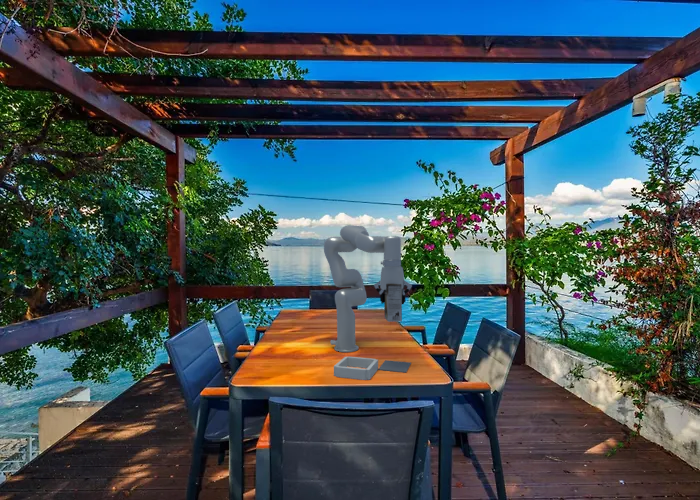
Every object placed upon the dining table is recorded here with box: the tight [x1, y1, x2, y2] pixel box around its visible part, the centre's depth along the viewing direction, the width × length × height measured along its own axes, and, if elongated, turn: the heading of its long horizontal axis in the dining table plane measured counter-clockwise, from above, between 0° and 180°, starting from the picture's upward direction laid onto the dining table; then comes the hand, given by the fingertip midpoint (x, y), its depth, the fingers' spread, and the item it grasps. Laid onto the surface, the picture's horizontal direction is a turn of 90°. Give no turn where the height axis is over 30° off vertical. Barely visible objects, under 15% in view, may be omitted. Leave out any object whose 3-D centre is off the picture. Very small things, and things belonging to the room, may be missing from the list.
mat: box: [377, 359, 412, 374], centre depth 154 cm, size 12×13×1 cm
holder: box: [333, 356, 379, 381], centre depth 148 cm, size 15×15×4 cm
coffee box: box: [383, 284, 403, 323], centre depth 154 cm, size 9×6×16 cm
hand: (392, 303), depth 154 cm, fingers closed on coffee box, 8 cm apart
